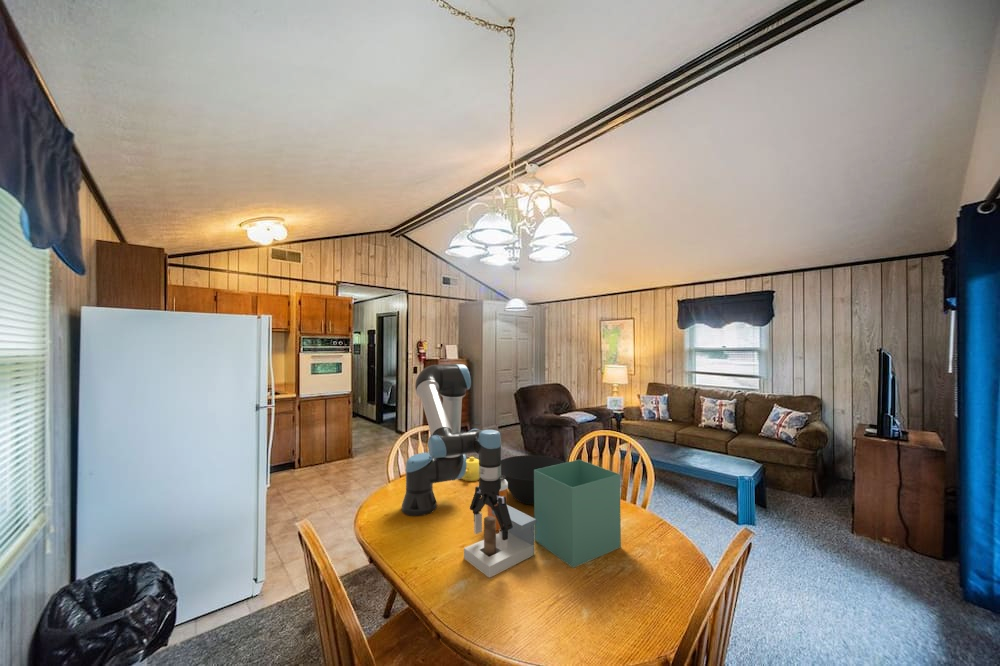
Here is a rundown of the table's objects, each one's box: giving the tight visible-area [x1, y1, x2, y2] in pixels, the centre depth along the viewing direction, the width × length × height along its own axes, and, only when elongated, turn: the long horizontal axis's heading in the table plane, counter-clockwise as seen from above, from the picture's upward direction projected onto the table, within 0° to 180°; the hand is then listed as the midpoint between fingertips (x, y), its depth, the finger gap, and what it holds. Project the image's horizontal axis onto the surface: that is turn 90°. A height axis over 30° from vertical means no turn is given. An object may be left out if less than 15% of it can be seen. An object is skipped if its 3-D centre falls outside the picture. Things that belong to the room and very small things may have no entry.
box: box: [533, 459, 622, 569], centre depth 138 cm, size 23×21×26 cm
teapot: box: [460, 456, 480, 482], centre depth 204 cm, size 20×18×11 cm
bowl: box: [501, 454, 566, 505], centre depth 178 cm, size 36×36×15 cm
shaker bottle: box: [486, 475, 508, 531], centre depth 151 cm, size 9×9×20 cm
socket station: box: [463, 504, 536, 579], centre depth 130 cm, size 16×20×12 cm
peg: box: [483, 515, 497, 557], centre depth 127 cm, size 4×4×14 cm
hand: (490, 540), depth 127 cm, fingers open, 13 cm apart
